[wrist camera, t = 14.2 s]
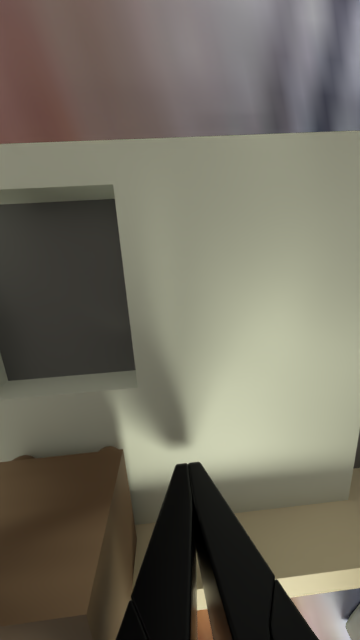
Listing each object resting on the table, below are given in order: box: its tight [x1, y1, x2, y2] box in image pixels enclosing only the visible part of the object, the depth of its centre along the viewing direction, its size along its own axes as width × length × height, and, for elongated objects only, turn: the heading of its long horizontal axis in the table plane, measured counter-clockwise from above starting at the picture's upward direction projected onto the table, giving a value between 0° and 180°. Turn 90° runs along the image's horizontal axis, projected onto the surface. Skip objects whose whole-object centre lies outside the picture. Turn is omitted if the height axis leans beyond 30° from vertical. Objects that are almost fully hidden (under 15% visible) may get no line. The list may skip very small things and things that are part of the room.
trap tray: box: [0, 131, 360, 610], centre depth 7 cm, size 30×16×4 cm, turn 93°
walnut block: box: [0, 446, 137, 640], centre depth 6 cm, size 4×4×4 cm
